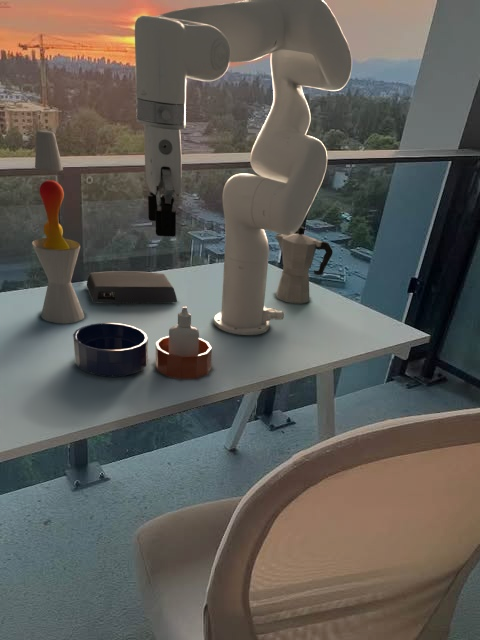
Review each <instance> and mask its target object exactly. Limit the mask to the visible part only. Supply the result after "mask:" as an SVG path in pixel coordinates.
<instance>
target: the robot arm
mask: <svg viewBox="0 0 480 640" xmlns="http://www.w3.org/2000/svg"><path fill="white" fill-rule="evenodd" d="M268 55H270V70H271V79H272V81H271V82H272V90H273V91H272V93H273V94H272V95H273V98H272V99H273V100H272V104H271V108H270V110H269V113H268V115H267V117H266V119H265V121H264V124H262V127H261V129H260V131H259V133H258V135H257V137H256V140H255V141H254V143H253V146H252V149H251V151H250V157H249V162H250V166H251V169H252V170H253V171H254V173H256V174H257V175H256V174H252V173H236V174H234V175H232V176H231V177H230V178H228V179H227V181H226V182H225V184H224V187H223V189H222V211H223V217H224V227H225V228H224V230H225V231H224V233H225V234H224V236H225V237H224V254H223V255H224V257H223V273H222V274H223V275H222V290H221V291H222V292H221V293H222V294H221V311H220V312H218V313H217V314H215V315H214V317H213V324H214V325H215V327H217V328H218V329H219V330H220V331H223V332H226V333H229V334H233V335H238V336H239V335H240V336H256V335H261V334H264V333H266V332H267V331H268V330H269V328H270V321H271V320H279V321H280V320H283V319H284V317H285V312H284V311H283V310H276V309H275V308H274V307H273V308H272V307H271V308H270V307H269V308H267V307H266V306H265V299H266V291H267V290H266V288H267V279H268V268H269V260H270V244H269V240H268V237H267V233H266V231H267V232H270V233H275V234H283V235H291V234H296V232H298V229H299V228H300V226H302V225H303V223H304V221H305V219H306V217H307V215H308V213H309V211H310V208H311V207H312V205H313V203H314V200H315V198H316V196H317V193H318V192H319V189H320V188H321V186H322V183H323V180H324V178H325V174H326V172H327V166H328V154H327V148H326V146H325V145H324V143H323V142H322V141H321V140H320V139H318V138H316V137H314V136H312V135H307V133H308V130H309V128H310V124H311V121H312V120H311V111H310V107H309V104H308V101H307V99H306V97H305V94H304V91H303V87H307V88H310V89H311V88H312V89H316V90H317V89H318V90H321V91H327V92H328V91H329V92H337V91H341V90H342V89H343V88H345V86H347V84H348V82H349V81H350V78H351V76H352V75H351V74H352V70H353V57H352V56H353V55H352V51H351V48H350V45H349V42H348V41H347V38H346V36H345V34H344V32H343V30H342V28H341V26H340V23H339V21H338V20H337V17H336V15H335V14H334V12H333V11H332V9H331V8H330V6H329V5H328V4H327V2H325V0H241V1H236V2H229V3H218V4H213V5H205V6H198V7H197V6H196V7H186V8H180V9H175V10H172V11H168V12H164V13H161V14H158V15H156V16H154V15H140V16H138V17H137V18H136V20H135V23H134V58H135V61H134V62H135V96H136V99H135V103H136V106H135V107H136V108H135V109H136V123H138V124H140V125H143V127H144V128H143V129H144V131H143V132H144V133H143V134H144V136H143V137H144V139H143V140H144V141H143V142H144V143H143V145H144V170H145V181H146V182H145V183H146V185H147V187H148V196H147V207H148V211H147V212H148V213H147V214H148V220H149V221H150V222H155V235H156V236H157V237H171V238H173V237H176V234H177V233H176V232H177V211H176V201H175V195H176V197H178V198H180V197H182V195H183V167H182V166H183V165H182V164H183V163H182V162H183V161H182V158H183V157H182V138H181V130H185V129H186V116H187V115H186V114H187V113H186V112H187V111H186V109H187V106H186V105H187V79H191V80H196V81H201V82H213V81H217V80H219V79H221V78H222V77H223V76H224V75H225V74H226V72H228V69H229V67H230V64H231V63H233V64H235V63H236V64H237V63H249V62H253V61H256V60H258V59H261V58H263V57H266V56H268Z"/></svg>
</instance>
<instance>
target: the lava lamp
mask: <svg viewBox="0 0 480 640" xmlns="http://www.w3.org/2000/svg"><path fill="white" fill-rule="evenodd" d="M34 168H35V169H37V170H41V171H47V172H61V171H64V168H63V163H62V159H61V155H60V151H59V146H58V142H57V137H56V135H55V132H54V131H51V130H46V129H41V130H40V129H39V130H37V131H36V137H35V160H34ZM39 195H40V197H41V200H42V203H43V207H44V209H45V212H46V218H47V222H46V223H44V225H43V233H44V235H45V237H42V238H37V239H34V240H32V242H31V245H32V247H33V250H34V252H35V254H36V256H37V258H38V260H39V263H40V265H41V267H42V270H43V271H44V273H45V275H46V277H47V280H48V282H47V287H46V292H45V297H44V300H43V306H42V310H41V314H40V315H41V318H42V319H43V320H44V321H47V322H50V323H54V324H72V323H78V322H81V321H82V320H83V319H84V318H85V317H86V316H85V313H84V311H83V308H82V305H81V304H80V301H79V299H78V296H77V293H76V291H75V288H74V286H73V284H72V278H73V275H74V270H75V267H76V264H77V260H78V256H79V253H80V250H81V244H80V243H79V242H77V241H75V240H72V239H68V238H64V237H63V233H64V229H63V226H62V225H61V224H60V223H59V214H60V209H61V206H62V203H63V200H64V198H65V191H64V189H63V187H62V185H61V184H60V183H59V182H57V181H55V180H53V179H52V180H51V179H48V180H44V181H43V182H42V183H41V184H40V186H39Z"/></svg>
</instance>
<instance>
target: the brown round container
mask: <svg viewBox="0 0 480 640" xmlns="http://www.w3.org/2000/svg"><path fill="white" fill-rule="evenodd" d="M154 346H155V367H156V370H157V372H159V373H161V374H163V375H164V376H166V377H169V378H174V379H179V380H193V379H195V380H196V379H198V378H202V377H205V376H207V375H208V374H209V373H210V372H211V370H212V351H213V350H212V349H213V348H212V346H211V344H210V342H208V341H207V340H204V339H203V338H200V337H199V355H196V356H180V355H174V354H169V335H168V336H167V335H166V336H164V337H163V336H162V337H160V338H159V339H158V340H157V341H156V342H155V345H154Z"/></svg>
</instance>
